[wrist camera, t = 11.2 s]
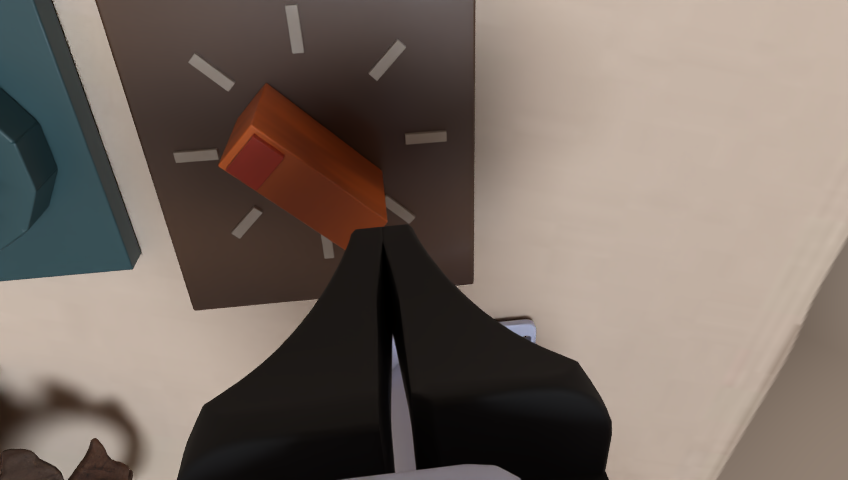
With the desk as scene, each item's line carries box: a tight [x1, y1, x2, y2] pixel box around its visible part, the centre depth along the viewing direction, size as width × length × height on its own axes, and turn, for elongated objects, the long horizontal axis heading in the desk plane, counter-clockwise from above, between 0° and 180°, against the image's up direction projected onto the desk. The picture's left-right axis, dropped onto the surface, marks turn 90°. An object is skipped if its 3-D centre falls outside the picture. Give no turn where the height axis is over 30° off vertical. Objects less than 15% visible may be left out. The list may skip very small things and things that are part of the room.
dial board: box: [95, 0, 475, 310], centre depth 21 cm, size 13×11×3 cm
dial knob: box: [218, 83, 388, 250], centre depth 19 cm, size 5×2×4 cm, turn 47°
